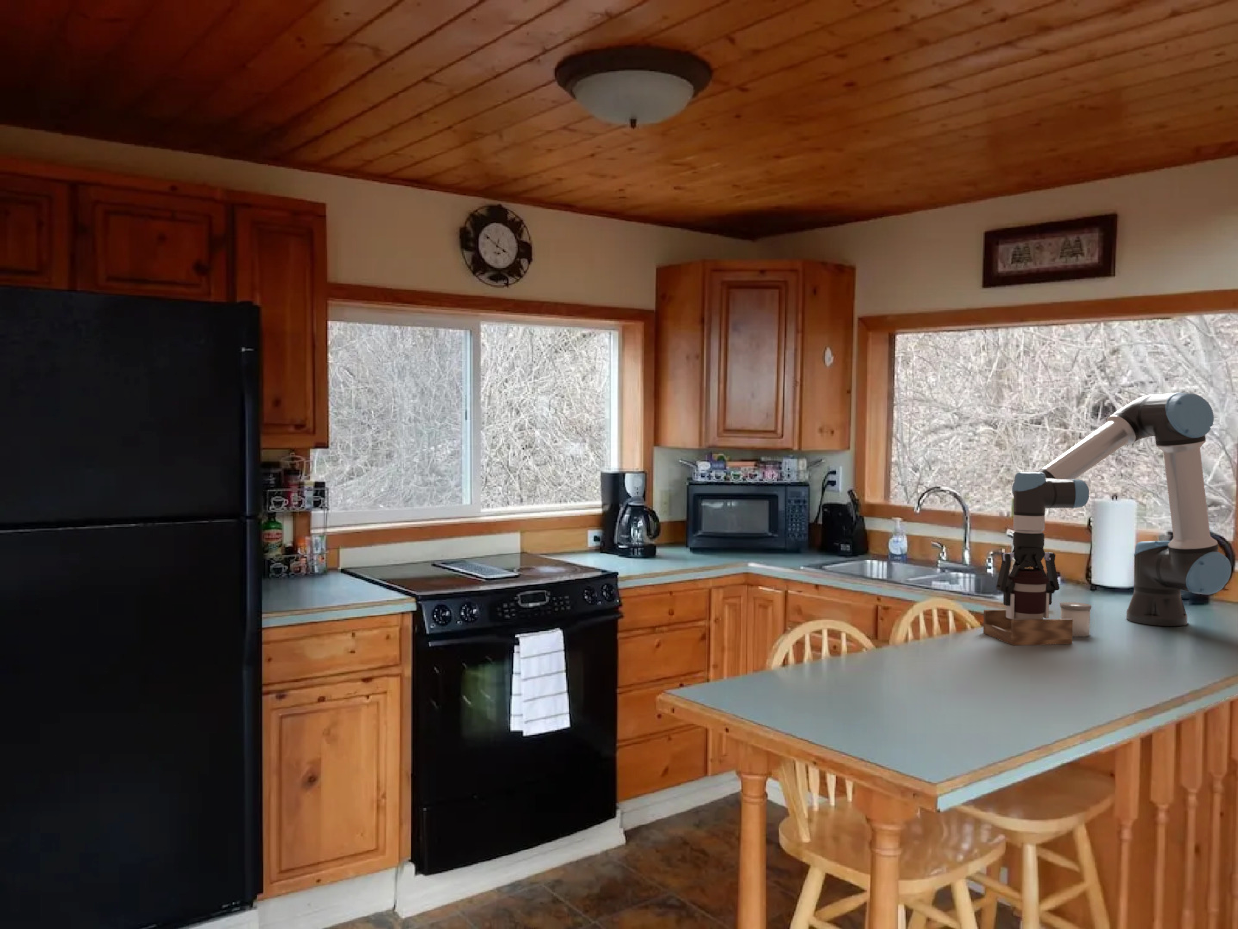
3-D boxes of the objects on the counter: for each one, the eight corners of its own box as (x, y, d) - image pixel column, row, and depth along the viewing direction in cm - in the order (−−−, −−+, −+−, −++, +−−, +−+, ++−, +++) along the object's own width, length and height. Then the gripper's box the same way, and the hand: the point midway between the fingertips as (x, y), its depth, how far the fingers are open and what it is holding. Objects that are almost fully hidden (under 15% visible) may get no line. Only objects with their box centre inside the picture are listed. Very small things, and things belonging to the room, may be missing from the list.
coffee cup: (1054, 631, 248) (1055, 572, 247) (1015, 631, 248) (1016, 572, 247) (1038, 623, 258) (1039, 567, 257) (1000, 623, 258) (1001, 567, 257)
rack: (1039, 631, 261) (1039, 608, 261) (1072, 643, 247) (1072, 619, 246) (983, 632, 259) (983, 609, 259) (1012, 645, 245) (1013, 620, 244)
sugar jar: (1079, 630, 263) (1080, 602, 263) (1096, 636, 256) (1097, 607, 255) (1053, 631, 262) (1054, 602, 262) (1069, 637, 255) (1070, 607, 254)
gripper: (1059, 529, 257) (1057, 614, 258) (982, 530, 254) (980, 615, 255) (1076, 532, 250) (1074, 619, 250) (996, 533, 247) (995, 621, 248)
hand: (1027, 617), depth 253 cm, fingers closed on coffee cup, 9 cm apart
